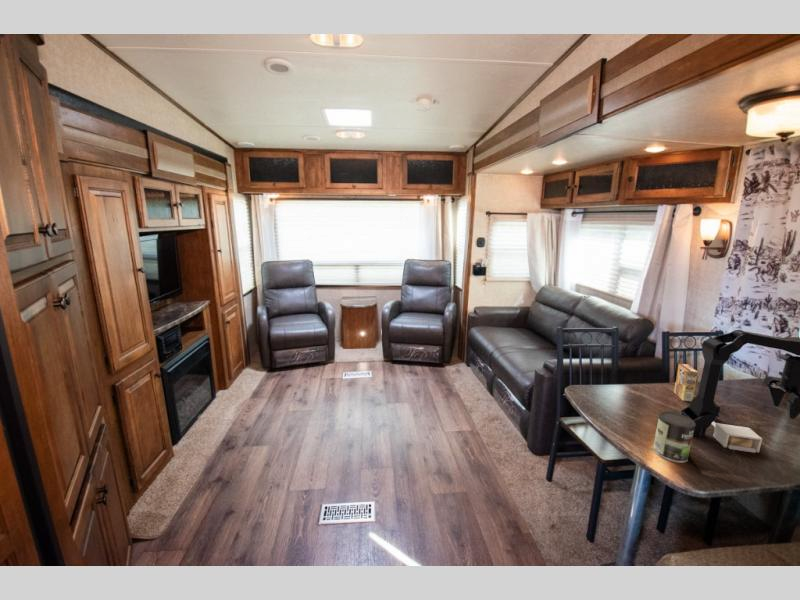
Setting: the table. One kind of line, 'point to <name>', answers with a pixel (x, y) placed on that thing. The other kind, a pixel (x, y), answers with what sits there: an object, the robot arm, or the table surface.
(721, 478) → the table surface
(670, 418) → the coffee can
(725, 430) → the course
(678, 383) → the candy box
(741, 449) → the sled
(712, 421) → the robot arm
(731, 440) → the block
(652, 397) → the table surface
